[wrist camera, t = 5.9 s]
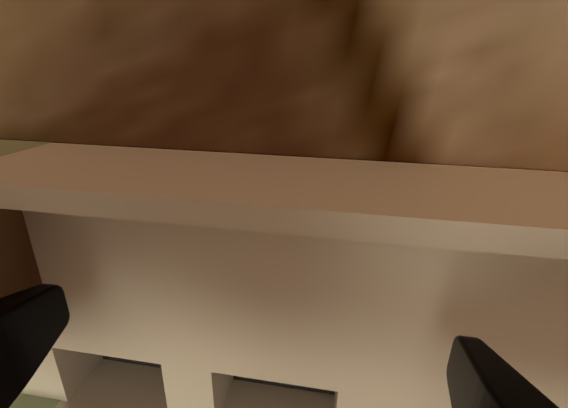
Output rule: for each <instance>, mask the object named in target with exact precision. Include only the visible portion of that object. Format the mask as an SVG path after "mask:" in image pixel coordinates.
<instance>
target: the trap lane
mask: <svg viewBox="0 0 568 408" xmlns="http://www.w3.org/2000/svg"><path fill="white" fill-rule="evenodd" d="M0 209H11V210H22V212H23V216H24V219H25V223H26V227H27V230H28V234H29V237H30V241H31V244H32V248H33V252H34V255H35V259H36V262H37V266H38V269H39V273H40V276H41V280H42V284H54V285H59V286H61V287H62V288H63V290H64V293H65V297H66V301H67V305H68V309H69V312H70V318H69V322H68V324H67V326H66V328H65V329H64V331H63V332H62V334H61V335H60V337H59V338H58V340H57V341H56V342H55V344H54V345H53V347H52V348H51V350H50V351H49V353H48V354H47V356H46V357H45V359H44V360H43V362H42V363H41V365H40V366H39V368H38V369H37V371H36V372H35V374H34V375H33V377H32V378H31V380H30V381H29V382H28V384H27V385H26V387H25V388H24V389H23V391H22V392H21V393H20V395H19V396H18V397H17V399H16V400H15V401H14V402H13V404H12V405H11V406H10V407H9V408H452V407H451V401H450V395H449V389H448V384H447V376H446V370H447V364H448V360H449V356H450V352H451V348H452V344H453V340H454V338H455V337H456V336H458V335H462V336H470V337H477V338H479V339H481V340H482V341H483V342H484V343H486V344H487V345H488V346H489V347H490V348H491V349H493V350H494V351H495V352H496V353H497V354H498V355H499V356H501V357H502V358H503V359H504V360H505V361H506V362H507V363H509V364H510V365H511V366H512V367H513V368H514V369H515V370H517V371H518V372H519V373H520V374H521V375H522V376H523V377H525V378H526V379H527V380H528V381H529V382H530V383H531V384H533V385H534V386H535V387H536V388H537V389H538V390H540V391H541V392H542V393H543V394H544V395H545V396H546V397H548V398H549V399H550V400H551V401H552V402H553V403H554V404H556V405H557V406H558V407H559V408H568V172H561V171H543V170H526V169H508V168H490V167H473V166H455V165H437V164H420V163H402V162H384V161H367V160H349V159H331V158H314V157H296V156H278V155H261V154H243V153H225V152H208V151H190V150H172V149H155V148H137V147H119V146H102V145H84V144H66V143H51V142H37V141H19V140H1V139H0Z"/></svg>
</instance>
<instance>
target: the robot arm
mask: <svg viewBox="0 0 568 408" xmlns="http://www.w3.org/2000/svg"><path fill="white" fill-rule="evenodd" d="M69 318H70V312H69V309H68V305H67V301H66V297H65V293H64V290H63V288H62V287H61V286H59V285H54V284H39V285H36V286H33V287H30V288H27V289H24V290H22V291H19V292H16V293H13V294H10V295H7V296H4V297H1V298H0V408H9V407H10V406H11V405H12V404H13V402H14V401H15V400H16V399H17V397H18V396H19V395H20V393H21V392H22V391H23V389H24V388H25V387H26V385H27V384H28V382H29V381H30V380H31V378H32V377H33V375H34V374H35V372H36V371H37V369H38V368H39V366H40V365H41V363H42V362H43V360H44V359H45V357H46V356H47V354H48V353H49V351H50V350H51V348H52V347H53V345H54V344H55V342H56V341H57V340H58V338H59V337H60V335H61V334H62V332H63V331H64V329H65V328H66V326H67V324H68V322H69ZM446 376H447V384H448V389H449V395H450V401H451V407H452V408H559V407H558V406H557V405H556V404H554V403H553V402H552V401H551V400H550V399H549V398H548V397H546V396H545V395H544V394H543V393H542V392H541V391H540V390H538V389H537V388H536V387H535V386H534V385H533V384H531V383H530V382H529V381H528V380H527V379H526V378H525V377H523V376H522V375H521V374H520V373H519V372H518V371H517V370H515V369H514V368H513V367H512V366H511V365H510V364H509V363H507V362H506V361H505V360H504V359H503V358H502V357H501V356H499V355H498V354H497V353H496V352H495V351H494V350H493V349H491V348H490V347H489V346H488V345H487V344H486V343H484V342H483V341H482V340H481V339H479V338H477V337H470V336H462V335H458V336H456V337H455V338H454V340H453V344H452V348H451V352H450V356H449V360H448V364H447V370H446Z"/></svg>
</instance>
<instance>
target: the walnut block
mask: <svg viewBox="0 0 568 408" xmlns="http://www.w3.org/2000/svg"><path fill="white" fill-rule="evenodd" d="M39 284H42V280H41V276H40V273H39V269H38V266H37V262H36V259H35V255H34V252H33V248H32V244H31V241H30V237H29V234H28V230H27V227H26V223H25V219H24V216H23V212H22V210H11V209H0V298H1V297H4V296H7V295H10V294H13V293H16V292H19V291H22V290H24V289H27V288H30V287H33V286H36V285H39Z"/></svg>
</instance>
